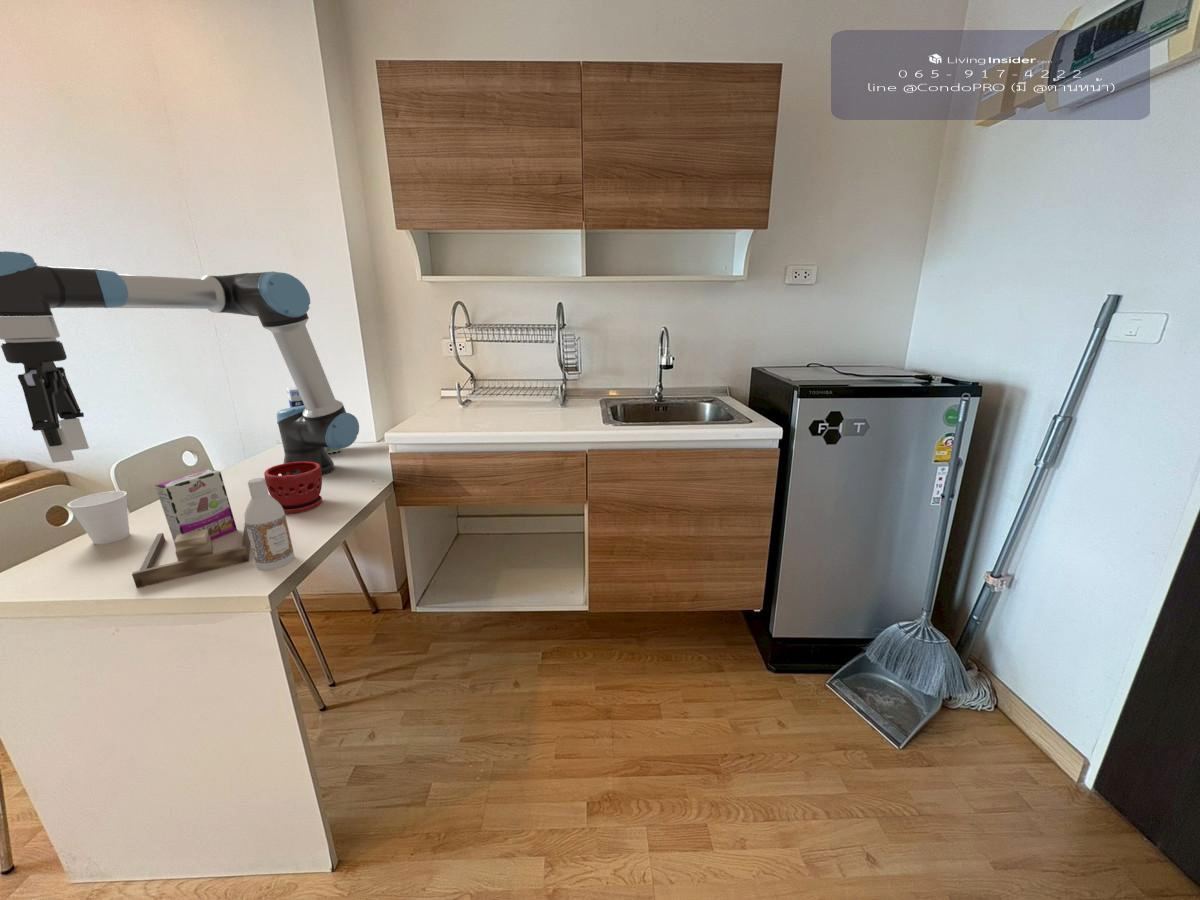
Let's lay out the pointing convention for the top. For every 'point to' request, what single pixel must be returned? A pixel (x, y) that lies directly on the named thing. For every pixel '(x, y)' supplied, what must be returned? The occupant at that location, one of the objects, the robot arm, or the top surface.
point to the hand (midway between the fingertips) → (71, 454)
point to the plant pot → (295, 486)
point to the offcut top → (191, 540)
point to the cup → (103, 516)
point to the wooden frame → (187, 563)
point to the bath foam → (267, 528)
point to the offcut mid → (195, 551)
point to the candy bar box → (197, 504)
